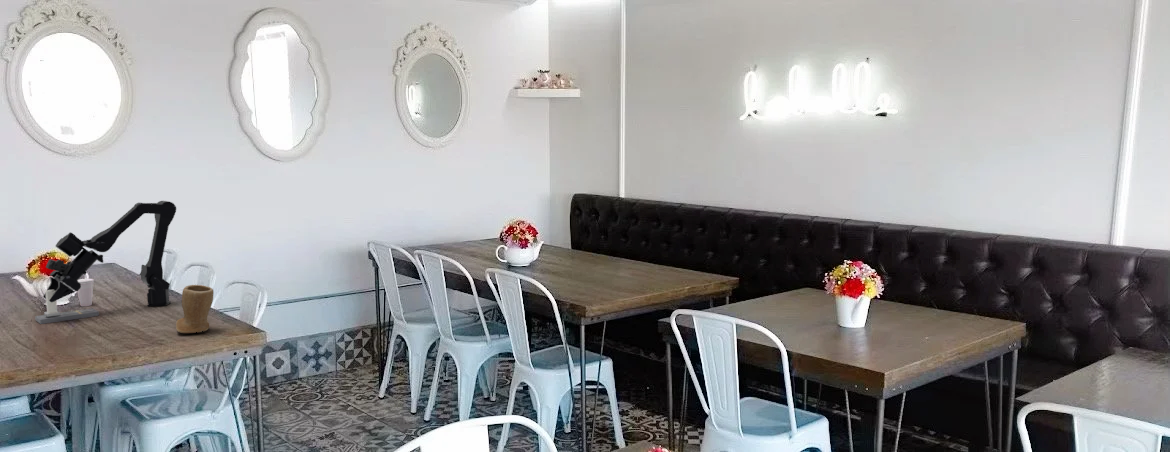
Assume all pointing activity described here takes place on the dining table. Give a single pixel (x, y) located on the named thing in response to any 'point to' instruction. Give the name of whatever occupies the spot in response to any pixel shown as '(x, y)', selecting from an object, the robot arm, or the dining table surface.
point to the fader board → (67, 316)
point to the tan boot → (195, 309)
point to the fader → (51, 304)
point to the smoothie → (85, 291)
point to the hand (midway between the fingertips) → (47, 299)
